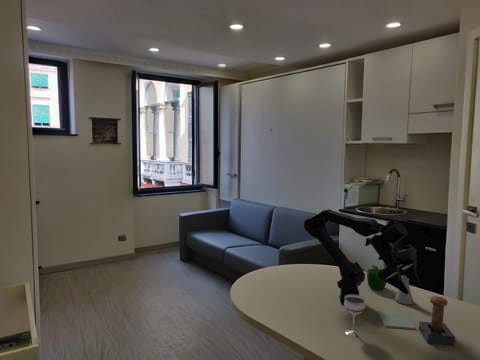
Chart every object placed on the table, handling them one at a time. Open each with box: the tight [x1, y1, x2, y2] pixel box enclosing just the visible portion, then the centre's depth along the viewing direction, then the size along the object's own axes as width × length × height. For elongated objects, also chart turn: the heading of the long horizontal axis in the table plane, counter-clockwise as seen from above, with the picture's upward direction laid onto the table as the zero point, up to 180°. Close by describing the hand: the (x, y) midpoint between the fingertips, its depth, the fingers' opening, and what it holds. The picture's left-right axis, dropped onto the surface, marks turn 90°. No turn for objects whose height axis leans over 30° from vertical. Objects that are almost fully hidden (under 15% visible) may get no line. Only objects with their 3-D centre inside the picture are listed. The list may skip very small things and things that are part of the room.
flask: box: [394, 275, 415, 305], centre depth 142 cm, size 7×7×10 cm
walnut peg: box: [429, 295, 448, 333], centre depth 117 cm, size 5×5×13 cm
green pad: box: [377, 310, 416, 330], centre depth 128 cm, size 10×10×1 cm
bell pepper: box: [366, 264, 388, 291], centre depth 154 cm, size 8×8×10 cm
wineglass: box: [343, 294, 366, 338], centre depth 119 cm, size 7×7×12 cm
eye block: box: [418, 320, 456, 346], centre depth 117 cm, size 8×8×3 cm
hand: (413, 289), depth 122 cm, fingers open, 9 cm apart
